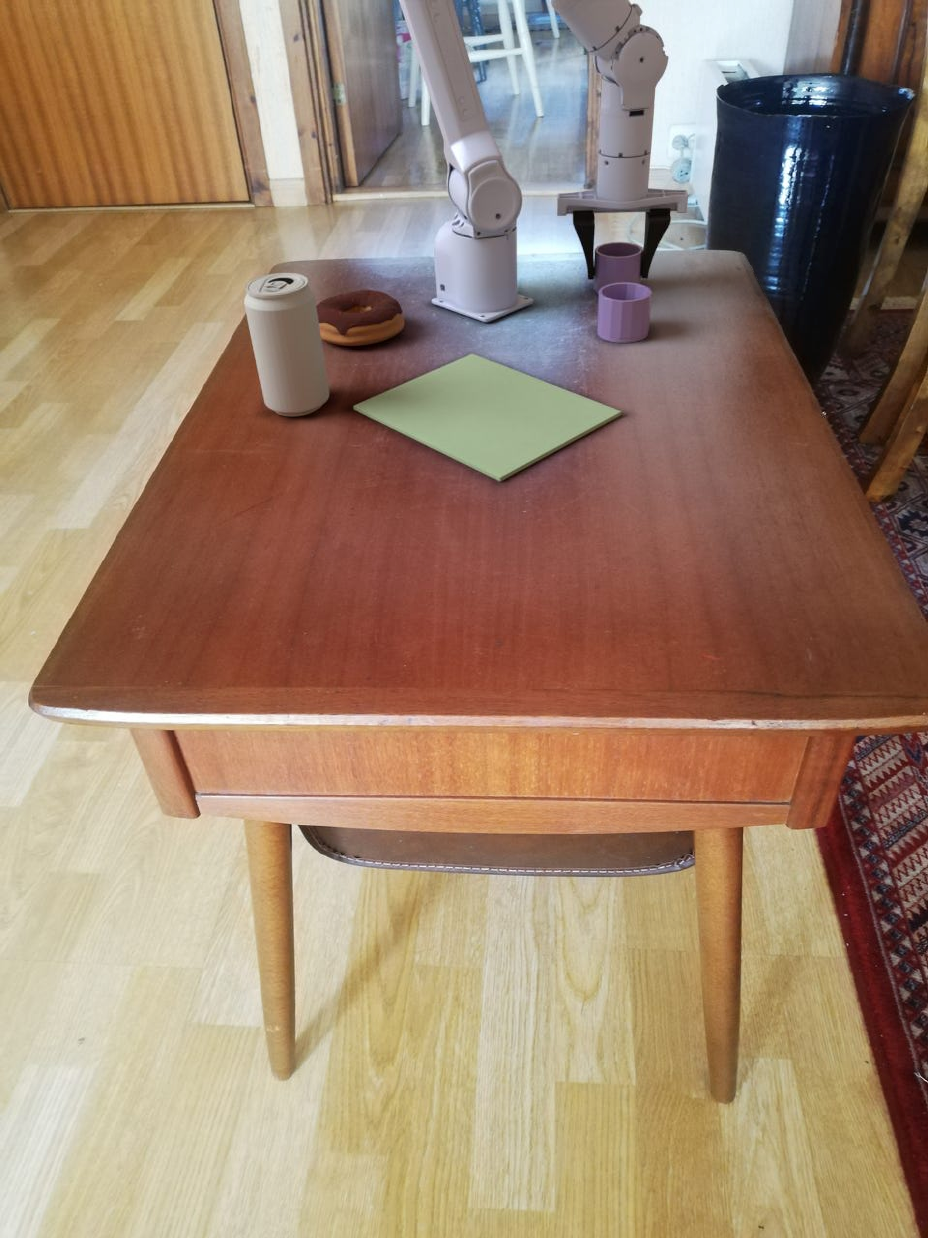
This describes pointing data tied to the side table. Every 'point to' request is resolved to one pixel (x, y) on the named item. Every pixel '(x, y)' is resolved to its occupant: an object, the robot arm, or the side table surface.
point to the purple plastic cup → (617, 264)
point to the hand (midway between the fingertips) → (617, 276)
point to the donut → (359, 318)
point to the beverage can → (287, 343)
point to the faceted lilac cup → (623, 312)
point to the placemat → (487, 415)
